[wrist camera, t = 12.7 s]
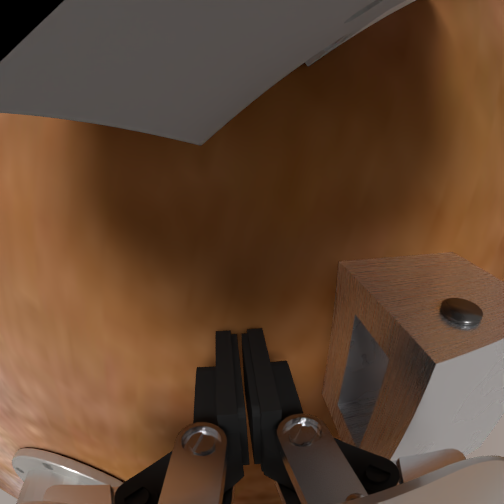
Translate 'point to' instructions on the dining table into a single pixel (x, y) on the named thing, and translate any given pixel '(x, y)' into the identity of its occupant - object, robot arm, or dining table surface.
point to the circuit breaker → (164, 57)
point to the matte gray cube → (415, 354)
